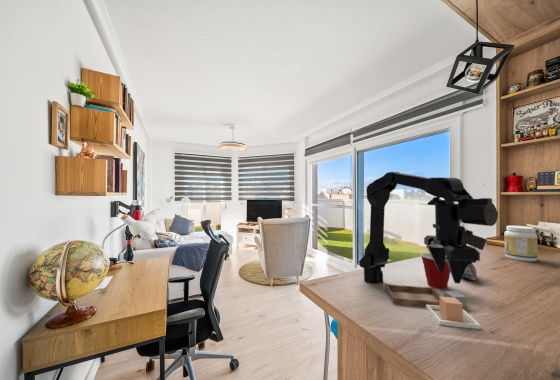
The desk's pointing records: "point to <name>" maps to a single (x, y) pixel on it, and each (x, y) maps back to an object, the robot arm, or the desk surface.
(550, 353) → the desk surface
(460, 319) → the terracotta block
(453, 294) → the slate rubber block
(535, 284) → the desk surface
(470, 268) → the mineral rock
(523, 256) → the supplement tub
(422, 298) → the walnut box
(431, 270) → the plastic cup
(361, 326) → the desk surface
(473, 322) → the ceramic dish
